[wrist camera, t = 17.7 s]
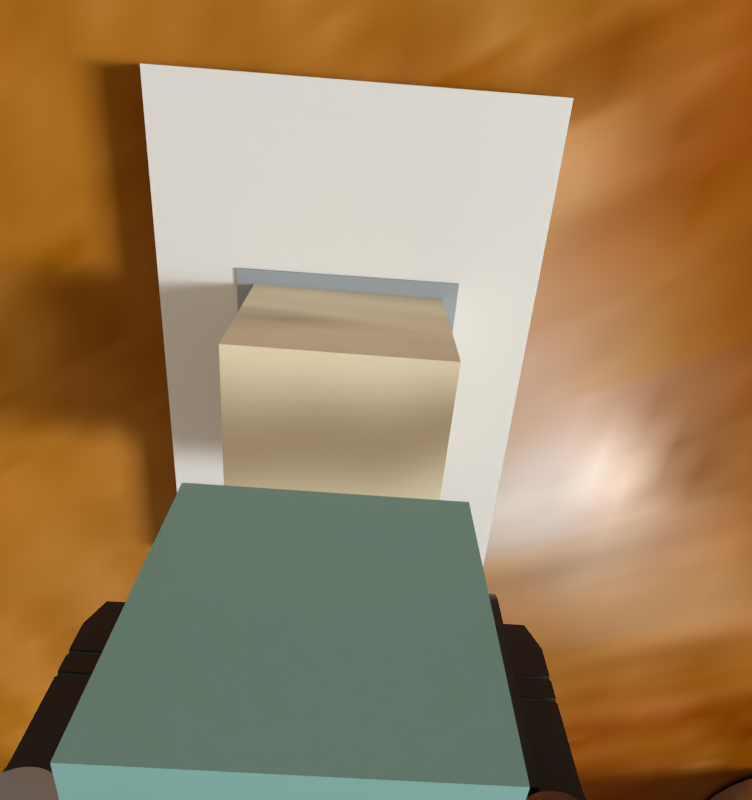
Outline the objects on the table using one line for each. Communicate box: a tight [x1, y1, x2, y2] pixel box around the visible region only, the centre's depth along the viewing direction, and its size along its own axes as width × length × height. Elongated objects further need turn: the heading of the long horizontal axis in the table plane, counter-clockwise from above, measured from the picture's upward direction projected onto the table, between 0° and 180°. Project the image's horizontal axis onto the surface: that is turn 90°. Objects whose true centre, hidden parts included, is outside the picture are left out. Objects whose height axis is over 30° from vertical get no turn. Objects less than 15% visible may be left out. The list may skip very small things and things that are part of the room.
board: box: [140, 63, 573, 565], centre depth 22 cm, size 18×12×1 cm, turn 176°
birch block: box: [219, 284, 461, 500], centre depth 19 cm, size 6×6×5 cm
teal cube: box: [50, 483, 530, 800], centre depth 10 cm, size 5×5×5 cm
